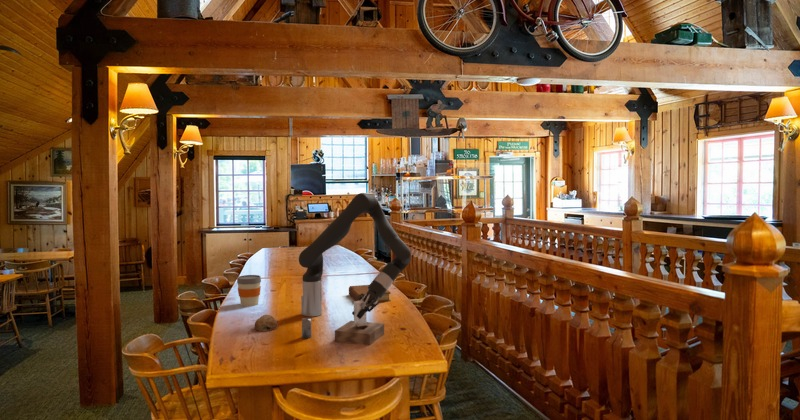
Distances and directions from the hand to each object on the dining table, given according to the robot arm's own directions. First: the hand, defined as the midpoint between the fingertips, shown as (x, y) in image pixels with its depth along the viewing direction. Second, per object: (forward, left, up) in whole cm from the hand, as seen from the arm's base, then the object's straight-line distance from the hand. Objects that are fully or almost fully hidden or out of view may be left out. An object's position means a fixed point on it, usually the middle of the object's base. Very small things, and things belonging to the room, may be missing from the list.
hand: (355, 316), depth 220 cm
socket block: (+1, +1, -10) cm, 10 cm away
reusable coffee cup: (-80, +36, -10) cm, 88 cm away
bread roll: (-46, +1, -10) cm, 47 cm away
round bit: (-21, -6, -10) cm, 24 cm away
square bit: (+1, +1, -4) cm, 5 cm away
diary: (-24, +70, -10) cm, 75 cm away
